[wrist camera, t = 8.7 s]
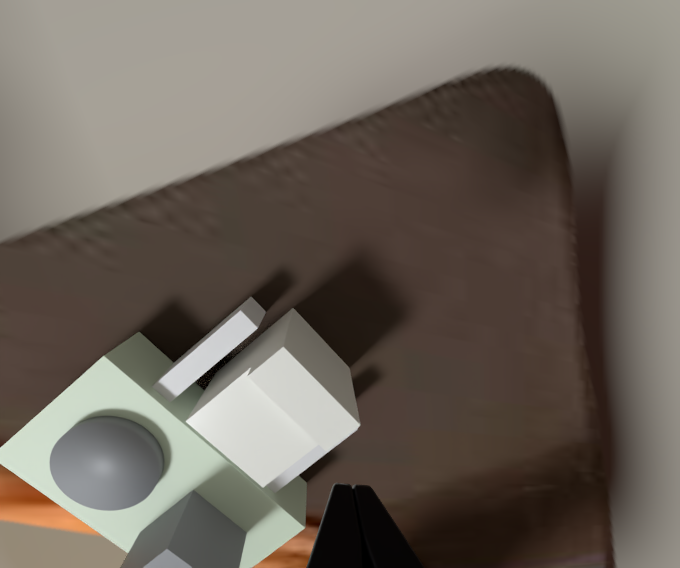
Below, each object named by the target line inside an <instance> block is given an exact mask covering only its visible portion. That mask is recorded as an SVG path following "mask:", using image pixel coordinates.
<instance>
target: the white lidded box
mask: <svg viewBox="0 0 680 568" xmlns="http://www.w3.org/2000/svg"><path fill="white" fill-rule="evenodd" d="M186 422H187V423H188V424H189V425H190V426H191V427H192V428H194V429H195V430H196V431H197V432H198V433H199V434H201V435H202V436H203V437H204V438H205V439H206V440H208V441H209V442H210V443H211V444H212V445H213V446H215V447H216V448H217V449H218V450H219V451H220V452H222V453H223V454H224V455H225V456H226V457H227V458H229V459H230V460H231V461H232V462H233V463H234V464H236V465H237V466H238V467H239V468H240V469H242V470H243V471H244V472H245V473H246V474H247V475H249V476H250V477H251V478H252V479H253V480H254V481H256V482H257V483H258V484H259V485H260V486H261V487H265V486H266V485H267V484H268V483H270V482H271V481H272V480H274V479H275V478H276V477H277V476H279V475H280V474H281V473H283V472H284V471H285V470H286V469H288V468H289V467H290V466H292V465H293V464H294V463H295V462H297V461H298V460H299V459H301V458H302V457H303V456H305V455H306V454H307V453H308V452H310V451H311V450H312V449H314V448H315V447H316V446H317V445H320V446H321V447H322V448H323V449H324V450H325V451H328V450H329V449H330V448H332V447H333V446H334V445H335V444H337V443H338V442H339V441H341V440H342V439H343V438H345V437H346V436H347V435H348V434H350V433H351V432H352V431H354V430H355V429H356V428H357V427H359V426H360V420H359V415H358V409H357V404H356V399H355V394H354V389H353V384H352V379H351V374H350V368H349V367H348V366H347V365H346V364H345V363H344V362H343V360H342V359H341V358H340V357H339V356H338V355H337V354H336V353H335V352H334V351H333V350H332V349H331V348H330V347H329V346H328V344H327V343H326V342H325V341H324V340H323V339H322V338H321V337H320V336H319V335H318V334H317V333H316V332H315V331H314V330H313V328H312V327H311V326H310V325H309V324H308V323H307V322H306V321H305V320H304V319H303V318H302V317H301V316H300V315H299V314H298V312H297V311H296V310H295V309H294V308H292V309H291V310H290V311H289V312H287V313H286V314H285V315H284V316H283V317H281V318H280V319H279V320H278V321H277V322H276V323H274V324H273V325H272V326H271V327H270V328H268V329H267V330H266V331H265V332H264V333H262V334H261V335H260V336H259V337H258V338H256V339H255V340H254V341H253V342H252V343H251V344H249V345H248V346H247V347H246V348H245V349H243V350H242V351H241V352H240V353H239V354H237V355H236V356H235V357H234V358H233V359H232V360H230V361H229V362H228V363H227V364H226V365H224V366H223V367H222V368H221V369H220V370H218V371H217V372H216V373H215V375H214V377H213V378H212V380H211V381H210V383H209V385H208V386H207V388H206V389H205V391H204V393H203V394H202V396H201V397H200V399H199V401H198V402H197V404H196V406H195V407H194V409H193V410H192V412H191V414H190V415H189V417H188V418H187V420H186Z"/></svg>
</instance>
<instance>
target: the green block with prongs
mask: <svg viewBox="0 0 680 568" xmlns="http://www.w3.org/2000/svg"><path fill="white" fill-rule="evenodd" d="M265 313H266V311H265V310H264V309H263V308H262V307H261V306H260V305H259V304H258V303H257V302H256V301H255V300H254V299H253V298H252V297H250V298H249V299H248V300H246V301H245V302H244V303H243V304H242V305H241V306H239V307H238V308H237V309H236V310H235V311H234V312H232V313H231V314H230V315H229V316H228V317H227V318H225V319H224V320H223V321H222V322H221V323H220V324H218V325H217V326H216V327H215V328H214V329H213V330H212V331H210V332H209V333H208V334H207V335H206V336H205V337H203V338H202V339H201V340H200V341H199V342H198V343H196V344H195V345H194V346H193V347H192V348H191V349H189V350H188V351H187V352H186V353H185V354H184V355H182V356H181V357H180V358H179V359H178V360H177V361H176V362H174V363H173V362H172V361H171V360H170V359H169V358H168V357H167V356H166V355H165V354H163V353H162V352H161V351H160V350H159V349H158V348H157V347H156V346H155V345H153V344H152V343H151V342H150V341H149V340H148V339H147V338H146V337H145V336H143V335H142V334H141V333H140V332H138V333H136V334H135V335H133V336H132V337H130V338H129V339H128V340H126V341H125V342H123V343H122V344H120V345H119V346H117V347H116V348H114V349H113V350H112V351H110V352H109V353H107V354H106V355H104V356H103V357H102V358H101V359H100V360H99V361H97V362H96V363H95V364H94V365H93V366H92V367H91V368H90V369H88V370H87V371H86V372H85V373H84V374H83V375H82V376H81V377H79V378H78V379H77V380H76V381H75V382H74V383H73V384H72V385H70V386H69V387H68V388H67V389H66V390H65V391H64V392H63V393H62V394H60V395H59V396H58V397H57V398H56V399H55V400H54V401H53V402H51V403H50V404H49V405H48V406H47V407H46V408H45V409H44V410H42V411H41V412H40V413H39V414H38V415H37V416H36V417H35V418H33V419H32V420H31V421H30V422H29V423H28V424H27V425H26V426H24V427H23V428H22V429H21V430H20V431H19V432H18V433H17V434H16V435H14V436H13V437H12V438H11V439H10V440H9V441H8V442H7V443H5V444H4V445H3V446H2V447H1V448H0V464H2V465H3V466H4V467H6V468H7V469H9V470H10V471H12V472H13V473H14V474H16V475H17V476H19V477H20V478H22V479H23V480H24V481H26V482H27V483H29V484H30V485H32V486H33V487H34V488H36V489H37V490H39V491H40V492H41V493H43V494H44V495H46V496H47V497H49V498H50V499H51V500H53V501H54V502H56V503H57V504H59V505H60V506H61V507H63V508H64V509H66V510H67V511H69V512H70V513H71V514H73V515H74V516H76V517H77V518H79V519H80V520H81V521H83V522H84V523H86V524H87V525H88V526H90V527H91V528H93V529H94V530H96V531H97V532H98V533H100V534H101V535H103V536H104V537H106V538H107V539H108V540H110V541H111V542H113V543H114V544H116V545H117V546H118V547H120V548H121V549H123V550H124V551H126V552H127V553H128V555H127V556H126V558H125V560H124V562H123V564H122V566H121V567H120V568H252V567H253V566H255V565H256V564H257V563H259V562H260V561H262V560H263V559H264V558H266V557H267V556H268V555H270V554H271V553H272V552H274V551H275V550H276V549H278V548H279V547H280V546H282V545H283V544H284V543H286V542H287V541H288V540H290V539H291V538H292V537H294V536H295V535H296V534H298V533H299V532H300V531H302V530H303V529H304V528H305V519H306V495H307V483H306V482H305V481H304V480H303V479H302V478H301V477H300V476H299V474H300V473H302V472H303V471H304V470H306V469H307V468H308V467H309V466H311V465H312V464H313V463H315V462H316V461H317V460H319V459H320V458H321V457H322V456H324V455H325V454H326V453H328V452H329V451H330V450H332V449H333V448H334V447H335V446H337V445H338V444H339V443H341V442H342V441H343V440H345V439H346V438H347V437H348V436H350V435H351V434H352V433H354V432H355V431H356V430H357V429H358V427H357V428H356V429H355V430H354V431H352V432H351V433H350V434H348V435H347V436H346V437H345V438H343V439H342V440H341V441H339V442H338V443H337V444H335V445H334V446H333V447H332V448H330V449H329V450H328V451H325V450H324V449H323V448H322V447H321V446H320V445H317V446H316V447H315V448H314V449H312V450H311V451H310V452H308V453H307V454H306V455H305V456H303V457H302V458H301V459H299V460H298V461H297V462H295V463H294V464H293V465H292V466H290V467H289V468H288V469H286V470H285V471H284V472H283V473H281V474H280V475H279V476H277V477H276V478H275V479H274V480H272V481H271V482H270V483H268V484H267V485H266V486H265V487H261V486H260V485H259V484H258V483H257V482H256V481H254V480H253V479H252V478H251V477H250V476H249V475H247V474H246V473H245V472H244V471H243V470H242V469H240V468H239V467H238V466H237V465H236V464H234V463H233V462H232V461H231V460H230V459H229V458H227V457H226V456H225V455H224V454H223V453H222V452H220V451H219V450H218V449H217V448H216V447H215V446H213V445H212V444H211V443H210V442H209V441H208V440H206V439H205V438H204V437H203V436H202V435H201V434H199V433H198V432H197V431H196V430H195V429H194V428H192V427H191V426H190V425H189V424H188V423H187V422H186V420H187V418H188V417H189V415H190V414H191V412H192V410H193V409H194V407H195V406H196V404H197V402H198V401H199V399H200V397H201V396H202V394H203V393H204V390H203V389H202V388H201V387H200V386H199V385H198V384H197V383H196V382H195V381H196V380H197V379H198V378H200V377H201V376H202V375H203V374H204V373H205V372H207V371H208V370H209V369H210V368H211V367H213V366H214V365H215V364H216V363H217V362H218V361H220V360H221V359H222V358H223V357H224V356H226V355H227V354H228V353H229V352H230V351H232V350H233V349H234V348H235V347H236V346H237V345H239V344H240V343H241V342H242V341H243V340H245V339H246V338H247V337H248V336H249V335H250V334H252V333H253V332H254V331H255V330H256V329H258V327H259V325H260V323H261V321H262V319H263V317H264V315H265Z"/></svg>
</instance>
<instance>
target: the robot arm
mask: <svg viewBox="0 0 680 568" xmlns="http://www.w3.org/2000/svg"><path fill="white" fill-rule="evenodd" d="M306 568H425V567H424V566H423V564H422V563H421V561H420V560H419V558H418V557H417V555H416V554H415V552H414V551H413V549H412V548H411V546H410V545H409V543H408V542H407V540H406V539H405V537H404V536H403V534H402V533H401V531H400V530H399V528H398V526H397V525H396V523H395V522H394V520H393V519H392V517H391V516H390V514H389V513H388V511H387V510H386V508H385V507H384V505H383V504H382V502H381V501H380V499H379V498H378V496H377V495H376V493H375V492H374V490H373V489H372V488H371V487H370V486H368V485H354V486H353V487H351V485H350V484H339V483H335V484H334V485H333V487H332V490H331V493H330V496H329V499H328V503H327V506H326V509H325V512H324V515H323V518H322V521H321V524H320V527H319V530H318V533H317V537H316V540H315V543H314V546H313V549H312V552H311V555H310V558H309V561H308V564H307V567H306Z"/></svg>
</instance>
